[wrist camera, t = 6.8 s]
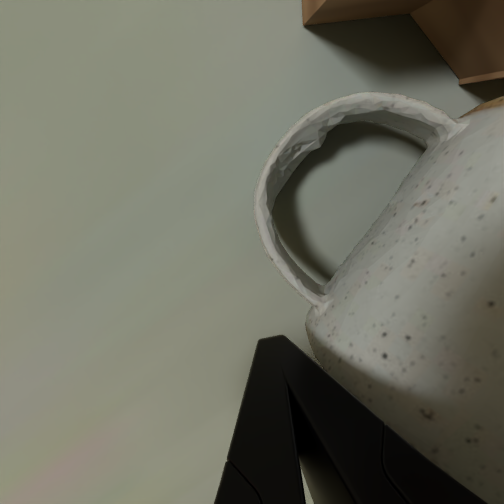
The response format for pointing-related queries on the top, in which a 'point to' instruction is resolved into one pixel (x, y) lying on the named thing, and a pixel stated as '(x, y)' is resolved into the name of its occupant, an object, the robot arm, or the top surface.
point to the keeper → (435, 28)
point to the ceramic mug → (415, 284)
